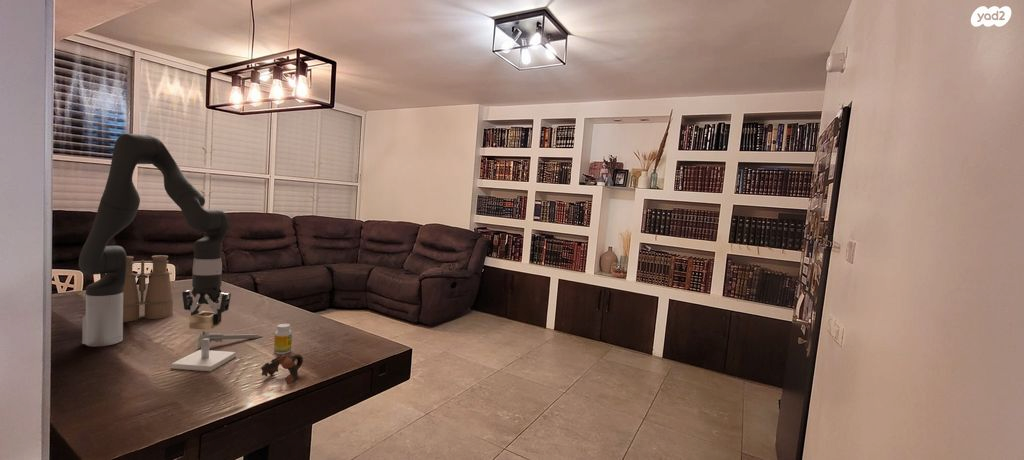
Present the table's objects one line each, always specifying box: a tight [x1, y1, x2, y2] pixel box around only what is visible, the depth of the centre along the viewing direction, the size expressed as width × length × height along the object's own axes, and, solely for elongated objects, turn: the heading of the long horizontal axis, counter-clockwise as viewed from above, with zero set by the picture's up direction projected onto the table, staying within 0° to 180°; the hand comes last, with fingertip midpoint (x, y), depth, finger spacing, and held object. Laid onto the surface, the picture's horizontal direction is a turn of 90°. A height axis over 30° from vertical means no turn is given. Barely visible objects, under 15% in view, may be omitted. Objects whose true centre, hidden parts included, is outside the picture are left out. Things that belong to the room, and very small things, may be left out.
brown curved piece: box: [260, 353, 304, 385], centre depth 130 cm, size 12×10×8 cm
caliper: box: [197, 330, 264, 350], centre depth 153 cm, size 20×1×6 cm, turn 143°
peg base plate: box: [170, 338, 237, 372], centre depth 135 cm, size 12×12×8 cm
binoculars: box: [123, 254, 175, 323], centre depth 171 cm, size 21×10×25 cm, turn 134°
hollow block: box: [188, 310, 223, 331], centre depth 134 cm, size 6×6×4 cm
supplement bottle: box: [273, 323, 293, 355], centre depth 149 cm, size 5×5×10 cm
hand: (206, 323), depth 135 cm, fingers closed on hollow block, 6 cm apart
